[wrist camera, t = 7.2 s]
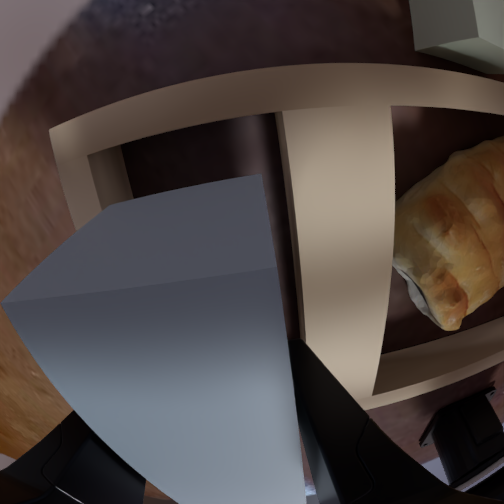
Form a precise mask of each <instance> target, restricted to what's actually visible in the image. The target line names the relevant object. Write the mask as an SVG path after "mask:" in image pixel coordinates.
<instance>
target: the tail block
mask: <svg viewBox="0 0 504 504" xmlns="http://www.w3.org/2000/svg"><path fill="white" fill-rule="evenodd" d="M409 5H410V12H411V19H412V27H413V36H414V47H415V51H418V52H422V53H425V54H429V55H433V56H436V57H439V58H443V59H446V60H449V61H452V62H455V63H458V64H461V65H464V66H467V67H470V68H472V69H475V70H478V71H480V72H483V73H485V74H504V0H409Z"/></svg>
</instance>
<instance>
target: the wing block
mask: <svg viewBox="0 0 504 504" xmlns="http://www.w3.org/2000/svg"><path fill="white" fill-rule="evenodd" d="M1 305H2V307H3V309H4V311H5V312H6V314H7V316H8V318H9V319H10V321H11V323H12V325H13V326H14V328H15V330H16V331H17V333H18V335H19V336H20V338H21V339H22V341H23V342H24V344H25V346H26V347H27V349H28V350H29V352H30V353H31V355H32V356H33V358H34V359H35V360H36V362H37V363H38V365H39V366H40V367H41V369H42V370H43V372H44V373H45V374H46V376H47V377H48V378H49V380H50V381H51V382H52V384H53V385H54V386H55V387H56V389H57V390H58V391H59V392H60V394H61V395H62V396H63V397H64V399H65V400H66V401H67V402H68V403H69V404H70V406H71V407H72V408H73V409H74V410H75V411H76V413H77V414H78V415H79V416H80V417H81V418H82V419H83V420H84V421H85V422H86V424H87V425H88V426H89V427H90V428H91V429H92V430H93V431H94V432H95V433H96V434H97V435H98V436H99V437H100V438H101V439H102V440H103V441H104V442H105V443H106V444H107V445H108V446H109V447H110V448H111V449H112V450H113V451H114V452H116V453H117V454H118V455H119V456H120V457H121V458H122V459H123V460H124V461H125V462H127V463H128V464H129V465H130V466H131V467H132V468H133V469H135V470H136V471H137V472H138V473H139V474H141V475H142V476H143V477H144V478H146V479H147V480H148V481H149V482H151V483H152V484H153V485H154V486H156V487H157V488H158V489H160V490H161V491H162V492H164V493H165V494H166V495H168V496H169V497H171V498H172V499H173V500H175V501H176V502H178V503H179V504H306V495H305V484H304V475H303V465H302V456H301V447H300V438H299V429H298V421H297V412H296V404H295V396H294V388H293V380H292V372H291V364H290V356H289V349H288V341H287V334H286V326H285V319H284V312H283V305H282V298H281V291H280V284H279V277H278V270H277V264H276V258H275V252H274V245H273V239H272V233H271V227H270V221H269V215H268V210H267V204H266V198H265V192H264V186H263V181H262V175H261V174H255V175H249V176H243V177H238V178H232V179H226V180H221V181H216V182H210V183H205V184H200V185H195V186H190V187H185V188H180V189H176V190H171V191H166V192H162V193H158V194H153V195H149V196H145V197H140V198H136V199H132V200H128V201H124V202H120V203H116V204H112V205H109V206H108V207H107V208H105V209H104V210H103V211H101V212H100V213H99V214H98V215H96V216H95V217H94V218H93V219H91V220H90V221H89V222H88V223H86V224H85V225H84V226H83V227H81V228H80V229H79V230H78V231H77V232H75V233H74V234H73V235H72V236H71V237H70V238H68V239H67V240H66V241H65V242H64V243H63V244H61V245H60V246H59V247H58V248H57V249H56V250H55V251H53V252H52V253H51V254H50V255H49V256H48V257H47V258H46V259H45V260H44V261H42V262H41V263H40V264H39V265H38V266H37V267H36V268H35V269H34V270H33V271H32V272H31V273H30V274H29V275H28V276H27V277H26V278H25V279H23V280H22V281H21V282H20V283H19V284H18V285H17V286H16V287H15V288H14V289H13V290H12V292H11V293H10V294H9V295H8V296H7V297H6V298H5V299H4V300H3V301H2V302H1Z"/></svg>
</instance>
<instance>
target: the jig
mask: <svg viewBox="0 0 504 504" xmlns="http://www.w3.org/2000/svg"><path fill="white" fill-rule="evenodd" d="M390 105H395V106H424V107H440V108H452V109H462V110H471V111H479V112H487V113H493V114H500V115H504V83H503V82H499V81H496V80H492V79H487V78H483V77H479V76H474V75H469V74H464V73H459V72H453V71H447V70H440V69H433V68H425V67H416V66H406V65H394V64H375V63H321V64H302V65H289V66H278V67H269V68H261V69H253V70H246V71H240V72H233V73H227V74H222V75H216V76H211V77H206V78H202V79H197V80H192V81H188V82H184V83H180V84H176V85H172V86H168V87H164V88H160V89H157V90H153V91H150V92H146V93H143V94H140V95H136V96H133V97H130V98H127V99H124V100H121V101H118V102H115V103H112V104H110V105H107V106H104V107H101V108H99V109H96V110H93V111H91V112H88V113H86V114H83V115H81V116H78V117H76V118H74V119H71V120H69V121H67V122H64V123H62V124H60V125H58V126H56V127H53V128H51V129H49V134H50V139H51V143H52V148H53V152H54V157H55V161H56V165H57V169H58V173H59V177H60V180H61V184H62V188H63V191H64V195H65V198H66V201H67V205H68V208H69V211H70V214H71V217H72V220H73V223H74V226H75V229H76V232H77V231H78V230H79V229H80V228H81V227H83V226H84V225H85V224H86V223H88V222H89V221H90V220H91V219H93V218H94V217H95V216H96V215H98V214H99V213H100V212H101V211H103V210H104V209H105V208H107V207H108V206H109V205H112V204H116V203H120V202H124V201H128V200H132V199H134V198H133V194H132V190H131V186H130V183H129V179H128V175H127V171H126V166H125V162H124V158H123V154H122V149H121V145H120V144H123V143H127V142H130V141H134V140H137V139H141V138H144V137H148V136H152V135H156V134H160V133H164V132H168V131H172V130H176V129H181V128H185V127H190V126H194V125H199V124H204V123H209V122H214V121H220V120H225V119H231V118H237V117H243V116H250V115H256V114H264V113H271V112H274V113H275V119H276V126H277V132H278V139H279V146H280V154H281V161H282V168H283V176H284V183H285V191H286V199H287V208H288V216H289V225H290V234H291V243H292V252H293V262H294V272H295V282H296V293H297V304H298V315H299V328H300V338H301V339H303V340H304V341H305V343H306V344H307V345H308V346H309V347H310V348H311V350H312V351H313V352H314V353H315V354H316V355H317V357H318V358H319V359H320V360H321V361H322V362H323V364H324V365H325V366H326V367H327V368H328V369H329V371H330V372H331V373H332V374H333V375H334V376H335V377H336V379H337V380H338V381H339V382H340V383H341V384H342V386H343V387H344V388H345V389H346V390H347V391H348V392H349V394H350V395H351V396H352V397H353V398H354V399H355V400H356V402H357V403H358V404H359V405H360V406H361V407H362V408H363V410H368V409H372V408H376V407H380V406H384V405H387V404H391V403H394V402H398V401H401V400H405V399H408V398H411V397H414V396H418V395H421V394H424V393H427V392H430V391H433V390H435V389H438V388H441V387H444V386H446V385H449V384H452V383H454V382H457V381H459V380H462V379H464V378H467V377H469V376H472V375H474V374H476V373H478V372H481V371H483V370H485V369H487V368H490V367H492V366H494V365H496V364H498V363H500V362H502V361H504V316H503V317H500V318H498V319H495V320H493V321H490V322H487V323H485V324H482V325H479V326H477V327H474V328H471V329H468V330H465V331H462V332H459V333H456V334H453V335H450V336H447V337H444V338H441V339H437V340H434V341H431V342H427V343H424V344H420V345H417V346H413V347H410V348H406V349H402V350H398V351H394V352H390V353H386V354H382V355H380V354H381V348H382V343H383V337H384V330H385V324H386V317H387V309H388V301H389V292H390V283H391V272H392V260H393V245H394V222H395V165H394V143H393V128H392V116H391V106H390Z"/></svg>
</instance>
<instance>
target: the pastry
mask: <svg viewBox="0 0 504 504" xmlns="http://www.w3.org/2000/svg"><path fill="white" fill-rule="evenodd" d="M392 265H393V266H394V267H395V268H396V270H397V272H398V273H400V274H401V275H402V277H404V278H405V279H406V281H407V285H408V292H409V295H410V298H411V300H412V301H413V302H414V303H415V305H416V307H417V308H418V309H419V310H420V311H421V312H422V313H423V314H424V315H427V316H428V317H429V318H430V319H431V320H432V321H433V322H434V323H435V324H436V325H438V326H439V327H441V328H442V329H444V330H446V331H452V330H457V329H459V327H460V325H461V322H462V318H464V317H465V316H466V315H468V314H470V313H472V312H473V311H474V310H475V309H476V308H478V307H479V306H480V305H482V304H483V303H485V302H487V301H488V300H489V299H491V298H492V297H493V295H494V294H495V293H496V292H497V291H498V290H499V289H500V288H502V287H504V136H502V137H497V138H495V139H493V140H486V141H483V142H481V143H480V144H478V145H476V146H474V147H472V148H470V149H467V150H463V151H456V152H454V153H452V154H451V155H450V156H449V158H448V160H447V162H446V163H445V164H444V165H442V166H440V167H438V168H437V169H435V170H434V171H433V172H432V173H431V174H430V175H428V176H427V177H426V178H424V179H423V180H421V181H420V182H418V183H416V184H415V185H414V186H413V187H412V188H411V189H410V190H408V191H407V192H406V193H405V194H404V195H403V196H402V197H401V198H400V199H398V200H397V201H396V202H395V222H394V245H393V260H392Z"/></svg>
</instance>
